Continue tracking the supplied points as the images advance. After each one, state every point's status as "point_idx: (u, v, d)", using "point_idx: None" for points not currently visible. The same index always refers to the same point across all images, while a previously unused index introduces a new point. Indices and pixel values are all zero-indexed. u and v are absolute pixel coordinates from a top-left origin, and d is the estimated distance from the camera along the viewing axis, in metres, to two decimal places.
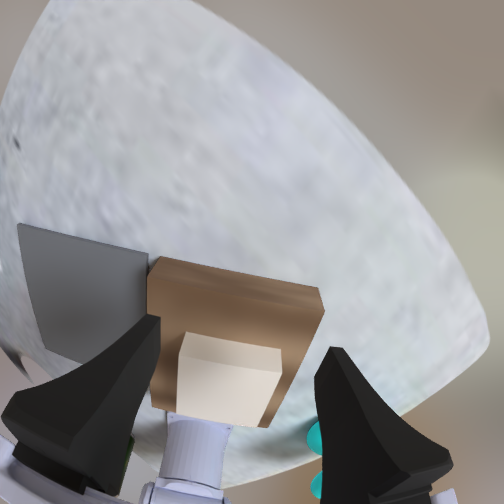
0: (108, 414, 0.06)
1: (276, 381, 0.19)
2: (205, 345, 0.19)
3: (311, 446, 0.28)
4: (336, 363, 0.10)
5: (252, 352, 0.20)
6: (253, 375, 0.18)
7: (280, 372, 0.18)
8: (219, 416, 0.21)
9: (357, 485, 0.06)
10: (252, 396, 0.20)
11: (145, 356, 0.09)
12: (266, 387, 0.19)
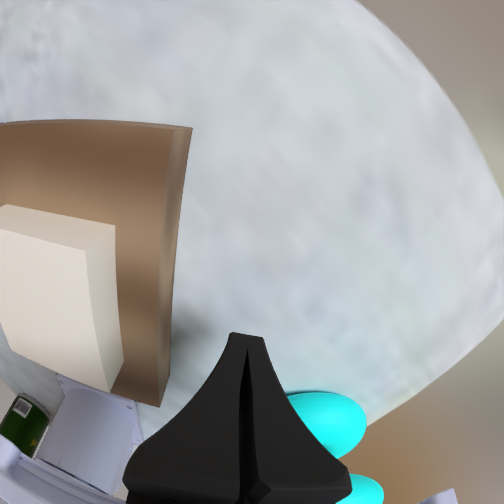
0: None
1: (84, 275, 0.09)
2: (12, 214, 0.09)
3: None
4: (246, 352, 0.10)
5: (64, 224, 0.10)
6: (49, 258, 0.09)
7: (83, 249, 0.08)
8: (51, 359, 0.11)
9: (241, 487, 0.06)
10: (66, 314, 0.10)
11: None
12: (75, 290, 0.09)
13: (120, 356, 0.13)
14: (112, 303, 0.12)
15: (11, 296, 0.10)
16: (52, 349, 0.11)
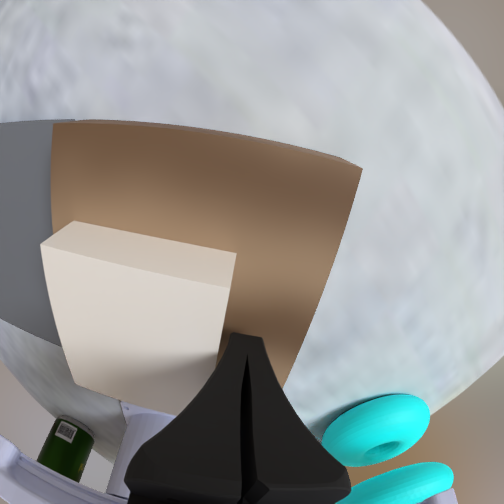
0: None
1: (221, 313, 0.09)
2: (92, 236, 0.10)
3: None
4: None
5: (175, 251, 0.10)
6: (170, 294, 0.09)
7: (226, 286, 0.09)
8: (136, 394, 0.11)
9: None
10: (179, 353, 0.10)
11: None
12: (202, 328, 0.09)
13: None
14: None
15: (92, 332, 0.10)
16: (142, 385, 0.11)
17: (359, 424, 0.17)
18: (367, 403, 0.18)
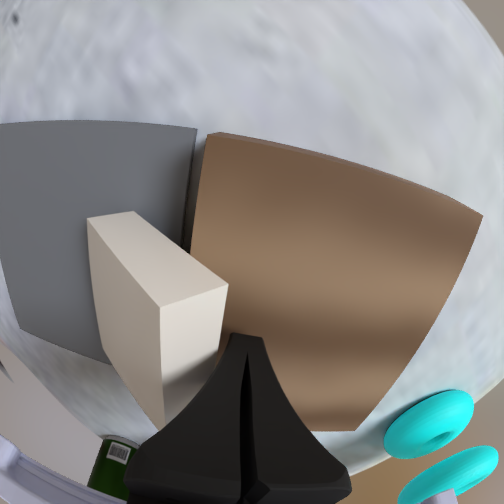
0: None
1: (158, 332, 0.08)
2: (127, 225, 0.11)
3: (392, 448, 0.19)
4: (246, 352, 0.10)
5: (169, 259, 0.09)
6: (131, 293, 0.08)
7: (159, 304, 0.07)
8: (128, 380, 0.12)
9: (241, 487, 0.06)
10: (141, 356, 0.09)
11: None
12: (150, 341, 0.08)
13: None
14: (205, 366, 0.10)
15: (105, 306, 0.11)
16: (129, 374, 0.11)
17: (423, 419, 0.18)
18: (428, 400, 0.19)
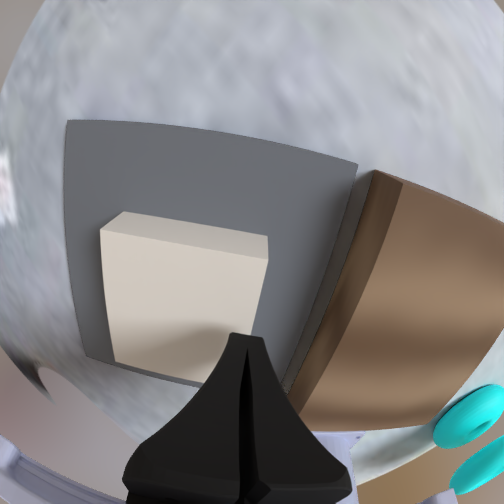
0: None
1: (260, 281, 0.11)
2: (145, 223, 0.12)
3: (443, 439, 0.20)
4: (246, 352, 0.10)
5: (219, 234, 0.12)
6: (219, 267, 0.11)
7: (265, 258, 0.11)
8: (176, 365, 0.14)
9: (241, 487, 0.06)
10: (221, 319, 0.12)
11: None
12: (243, 295, 0.12)
13: None
14: None
15: (143, 306, 0.12)
16: (183, 355, 0.13)
17: (472, 410, 0.18)
18: (474, 394, 0.19)
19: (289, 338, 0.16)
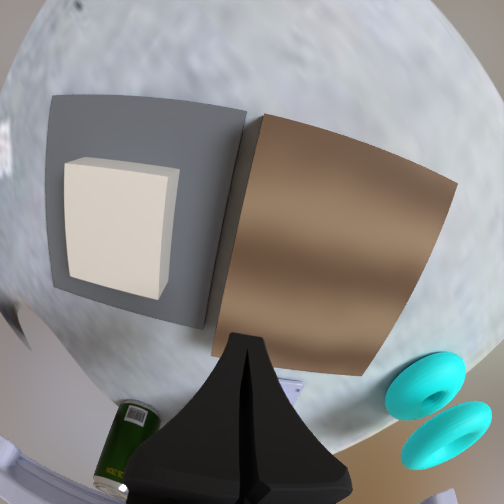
0: None
1: (163, 194, 0.15)
2: (96, 161, 0.15)
3: (393, 405, 0.23)
4: (246, 352, 0.10)
5: (143, 166, 0.16)
6: (135, 184, 0.15)
7: (166, 176, 0.14)
8: (111, 275, 0.17)
9: (241, 487, 0.06)
10: (140, 228, 0.16)
11: None
12: (153, 206, 0.15)
13: (167, 274, 0.19)
14: (170, 225, 0.18)
15: (88, 221, 0.16)
16: (116, 264, 0.17)
17: (421, 374, 0.22)
18: (424, 358, 0.23)
19: (206, 261, 0.19)
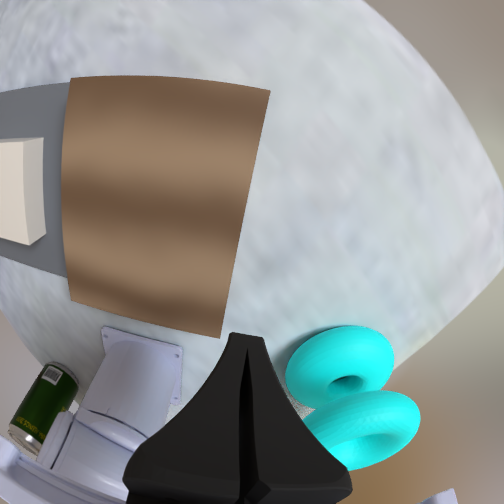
0: None
1: (22, 155, 0.14)
2: None
3: (291, 387, 0.22)
4: (246, 352, 0.10)
5: (20, 139, 0.15)
6: (8, 151, 0.14)
7: (22, 141, 0.14)
8: (3, 226, 0.17)
9: (241, 487, 0.06)
10: (12, 184, 0.15)
11: None
12: (17, 166, 0.15)
13: (43, 226, 0.19)
14: (38, 182, 0.17)
15: None
16: (4, 217, 0.16)
17: (315, 350, 0.21)
18: (324, 331, 0.22)
19: None
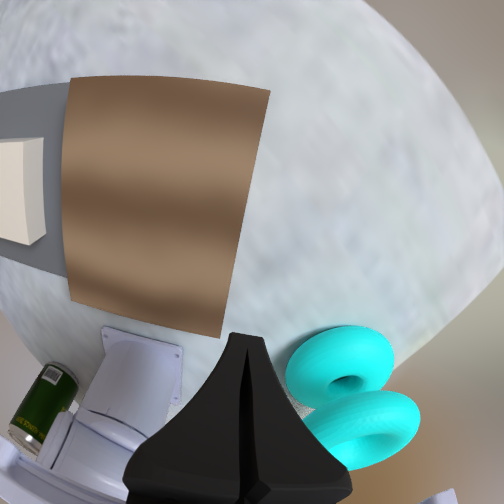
0: None
1: (22, 155, 0.14)
2: None
3: (291, 387, 0.22)
4: (246, 352, 0.10)
5: (20, 139, 0.15)
6: (8, 151, 0.14)
7: (22, 141, 0.14)
8: (3, 226, 0.17)
9: (241, 487, 0.06)
10: (12, 184, 0.15)
11: None
12: (17, 166, 0.15)
13: (43, 226, 0.19)
14: (38, 182, 0.17)
15: None
16: (4, 217, 0.16)
17: (315, 350, 0.21)
18: (324, 331, 0.22)
19: None
